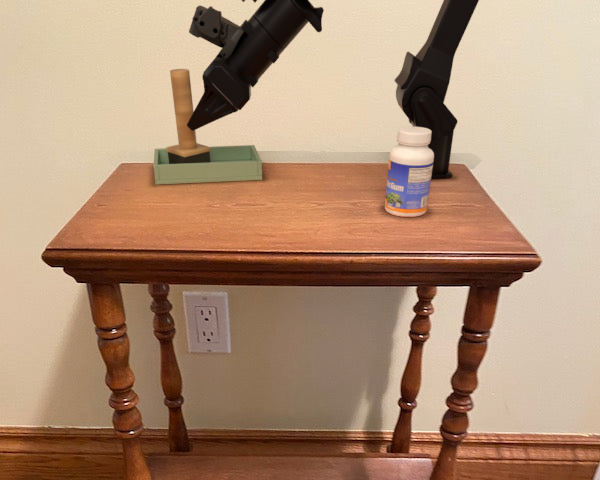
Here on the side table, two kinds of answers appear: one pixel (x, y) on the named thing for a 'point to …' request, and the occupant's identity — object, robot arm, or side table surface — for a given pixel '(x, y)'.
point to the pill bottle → (409, 173)
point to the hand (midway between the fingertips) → (193, 120)
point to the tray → (211, 166)
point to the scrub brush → (185, 123)
